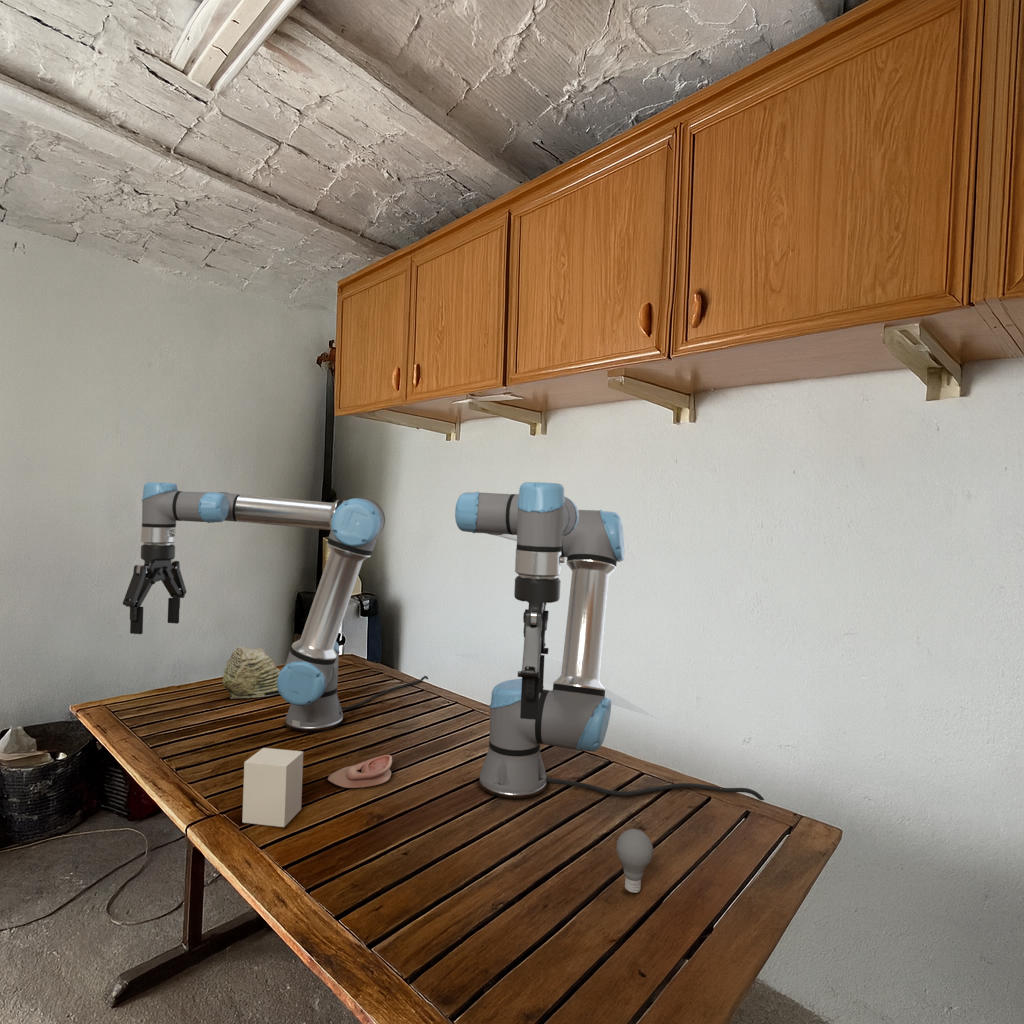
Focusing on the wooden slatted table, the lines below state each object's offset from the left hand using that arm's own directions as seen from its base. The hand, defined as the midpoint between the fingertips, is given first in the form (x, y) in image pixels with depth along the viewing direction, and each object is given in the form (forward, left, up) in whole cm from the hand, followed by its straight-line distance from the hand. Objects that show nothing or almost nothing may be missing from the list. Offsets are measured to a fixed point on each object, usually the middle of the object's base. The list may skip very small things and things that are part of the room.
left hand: (155, 628), depth 159 cm
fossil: (-36, -16, -28) cm, 49 cm away
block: (0, +56, -28) cm, 62 cm away
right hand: (-16, +107, +2) cm, 108 cm away
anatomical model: (-23, +55, -28) cm, 65 cm away
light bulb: (-27, +121, -28) cm, 127 cm away
